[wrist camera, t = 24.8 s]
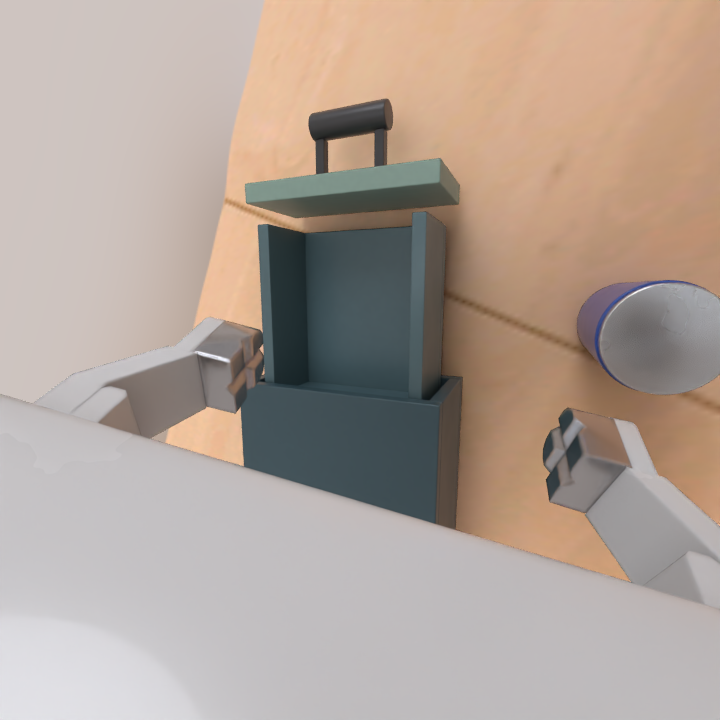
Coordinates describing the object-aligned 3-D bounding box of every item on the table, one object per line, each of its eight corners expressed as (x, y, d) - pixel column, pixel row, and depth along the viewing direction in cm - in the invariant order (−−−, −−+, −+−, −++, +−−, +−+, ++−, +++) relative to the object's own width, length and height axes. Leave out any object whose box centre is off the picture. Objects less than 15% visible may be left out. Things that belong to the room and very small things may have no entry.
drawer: (293, 140, 29) (240, 108, 24) (463, 110, 24) (444, 62, 19) (300, 386, 32) (255, 405, 27) (450, 403, 28) (431, 430, 22)
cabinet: (299, 362, 33) (238, 382, 26) (462, 376, 28) (439, 405, 21) (304, 529, 36) (250, 586, 29) (453, 570, 31) (430, 652, 24)
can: (580, 283, 24) (603, 280, 16) (677, 282, 22) (753, 279, 15) (573, 359, 25) (591, 391, 17) (665, 365, 23) (731, 404, 15)
